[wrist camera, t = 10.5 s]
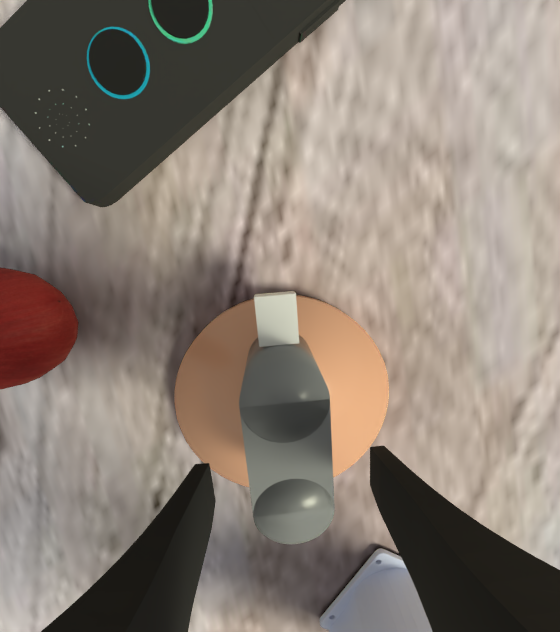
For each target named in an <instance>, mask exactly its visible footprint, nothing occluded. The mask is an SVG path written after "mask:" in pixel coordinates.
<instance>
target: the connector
mask: <svg viewBox="0 0 560 632" xmlns="http://www.w3.org/2000/svg"><path fill="white" fill-rule="evenodd" d="M254 302H255V311H256V321H257V331H258V337H257V338H256V339H255V341H254V342H253V343H252V345H251V347H250V349H249V353H248V357H247V362H246V367H245V372H244V377H243V382H242V387H241V392H240V397H239V409H240V417H241V425H242V432H243V440H244V448H245V456H246V463H247V471H248V479H249V487H250V494H251V502H252V510H253V517H254V522H255V524H256V526H257V528H258V530H259V531H260V532H261V533H262V534H263V535H264V536H266V537H267V538H269V539H270V540H272V541H275V542H278V543H282V544H300V543H304V542H308V541H310V540H313V539H315V538H316V537H318V536H319V535H321V534H322V533H323V532H324V531H325V530H326V529H327V528H328V526H329V525H330V523H331V521H332V519H333V516H334V486H333V461H332V436H331V411H330V394H329V390H328V387H327V385H326V383H325V380H324V378H323V376H322V374H321V372H320V370H319V367H318V365H317V363H316V361H315V359H314V357H313V354H312V352H311V350H310V348H309V346H308V344H307V342H306V341H305V340H304V339H303V338H302V337H301V336H300V335H299V332H298V317H297V302H296V293H295V292H294V291H287V292H275V293H264V294H255V296H254Z"/></svg>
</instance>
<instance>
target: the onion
mask: <svg viewBox="0 0 560 632" xmlns="http://www.w3.org/2000/svg"><path fill="white" fill-rule="evenodd" d="M77 333H78V320H77V318H76V315H75V312H74V310H73V307H72V305H71V304H70V303H69V301H68V300H67V299H66V297H65V296H64V295H63V294H62V292H60V291H59V290H58V289H56V288H55V287H53V286H52V285H50V284H49V283H48V282H46V281H44V280H43V279H41V278H40V277H38V276H36V275H35V274H30V273H26V272H21V271H17V270H12V269H6V268H0V389H4V388H9V387H13V386H17V385H21V384H25V383H28V382H30V381H33V380H35V379H37V378H40V377H41V376H43V375H44V374H46V373H47V372H49V371H50V370H52V369H53V368H55V367H56V366H57V365H59V364H60V363H61V362H63V361H64V360H65V359H66V357H67V356H68V354H69V352H70V350H71V349H72V347H73V345H74V343H75V341H76V339H77Z"/></svg>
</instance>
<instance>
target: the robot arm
mask: <svg viewBox="0 0 560 632" xmlns="http://www.w3.org/2000/svg"><path fill="white" fill-rule="evenodd" d="M370 486H371V489H372V492H373V495H374V497H375V500H376V503H377V506H378V508H379V511H380V513H381V515H382V518H383V520H384V522H385V524H386V526H387V528H388V530H389V532H390V535H391V537H392V539H393V541H394V543H395V545H396V547H397V549H398V551H399V553H400V555H401V556H398V555H396V554H394V553H391V552H389V551H387V550H385V549H382V548H380V549H377V550H376V551H375V552H374V553H373V554H372V556H371V557H370V558H369V559H368V560H367V562H366V563H365V564H364V565H363V566H362V568H361V569H360V570H359V571H358V573H357V574H356V575H355V576H354V577H353V579H352V580H351V581H350V582H349V583H348V585H347V586H346V587H345V588H344V589H343V591H342V592H341V593H340V594H339V595H338V597H337V598H336V599H335V600H334V602H333V603H332V604H331V605H330V606H329V608H328V609H327V610H326V611H325V612H324V614H323V615H322V616H321V617H320V626H321V627H322V628H324V629H327V630H329V632H560V570H558V569H556V568H555V567H553V566H551V565H549V564H547V563H545V562H544V561H542V560H540V559H538V558H536V557H534V556H533V555H531V554H529V553H527V552H526V551H524V550H522V549H520V548H519V547H517V546H515V545H514V544H512V543H510V542H509V541H507V540H506V539H504V538H502V537H501V536H499V535H497V534H496V533H494V532H493V531H491V530H489V529H488V528H486V527H485V526H483V525H482V524H480V523H479V522H477V521H476V520H474V519H473V518H471V517H470V516H469V515H467V514H466V513H464V512H463V511H461V510H460V509H459V508H457V507H456V506H454V505H453V504H452V503H450V502H449V501H448V500H447V499H445V498H444V497H443V496H441V495H440V494H439V493H438V492H436V491H435V490H434V489H433V488H431V487H430V486H429V485H428V484H426V483H425V482H424V481H423V480H422V479H421V478H419V477H418V476H417V475H416V474H415V473H414V472H412V471H411V470H410V469H409V468H408V467H407V466H406V465H405V464H403V463H402V462H401V461H400V460H399V459H398V458H397V457H396V456H395V455H393V454H392V453H391V452H390V451H389V450H388V449H387V448H386V447H385V446H376V447H370ZM214 508H215V495H214V489H213V483H212V477H211V471H210V464H209V463H204V464H195V465H194V467H193V468H192V469H191V471H190V472H189V474H188V475H187V476H186V478H185V479H184V481H183V482H182V483H181V485H180V486H179V488H178V489H177V490H176V492H175V493H174V494H173V496H172V497H171V498H170V500H169V501H168V502H167V504H166V505H165V506H164V508H163V509H162V510H161V511H160V513H159V514H158V515H157V516H156V518H155V519H154V520H153V521H152V522H151V524H150V525H149V526H148V527H147V529H146V530H145V531H144V532H143V533H142V535H141V536H140V537H139V538H138V539H137V540H136V541H135V543H134V544H133V545H132V546H131V547H130V548H129V549H128V550H127V551H126V552H125V553H124V555H123V556H122V557H121V558H120V559H119V560H118V561H117V562H116V563H115V564H114V565H113V566H112V567H111V568H110V569H109V570H108V571H107V572H106V573H105V574H104V575H103V576H102V577H101V578H100V579H99V580H98V581H97V582H96V583H95V584H94V585H93V586H92V587H91V588H90V589H89V590H88V591H87V592H85V593H84V594H83V595H82V596H81V597H80V598H79V599H78V600H77V601H76V602H74V603H73V604H72V605H71V606H70V607H69V608H68V609H67V610H66V611H64V612H63V613H62V614H61V615H60V616H59V617H57V618H56V619H55V620H54V621H53V622H52V623H51V624H49V625H48V626H47V627H46V628H45V629H43V630H42V631H41V632H188V628H189V622H190V616H191V611H192V607H193V602H194V598H195V594H196V590H197V586H198V581H199V577H200V573H201V569H202V565H203V561H204V557H205V553H206V549H207V545H208V541H209V537H210V533H211V528H212V522H213V515H214Z"/></svg>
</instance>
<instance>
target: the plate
mask: <svg viewBox="0 0 560 632" xmlns="http://www.w3.org/2000/svg"><path fill="white" fill-rule="evenodd" d="M296 302H297V317H298V332H299V335H300V336H301V337H302V338H303V339H304V340H305V341H306V342H307V344H308V346H309V348H310V350H311V352H312V354H313V357H314V359H315V361H316V363H317V365H318V367H319V370H320V372H321V374H322V376H323V378H324V380H325V383H326V385H327V387H328V390H329V394H330V411H331V436H332V461H333V477H335V476H337V475H339V474H340V473H342V472H344V471H345V470H346V469H348V468H349V467H350V466H352V465H353V464H354V463H355V462H356V461H357V460H358V459H359V458H361V457H362V456H363V454H364V453H365V452H366V451H367V450H368V448H369V447H370V446H371V444H372V443H373V441H374V440H375V438H376V437H377V435H378V433H379V431H380V429H381V427H382V424H383V421H384V418H385V415H386V411H387V406H388V398H389V384H388V375H387V371H386V367H385V364H384V361H383V359H382V356H381V354H380V351H379V350H378V348H377V346H376V345H375V343H374V341H373V340H372V339H371V337H370V336H369V335H368V334H367V332H366V331H365V330H364V329H363V328H362V327H361V326H360V325H359V324H358V323H356V322H355V321H354V320H353V319H352V318H350V317H349V316H347V315H346V314H345V313H343V312H342V311H340V310H339V309H337V308H335V307H333V306H332V305H330V304H328V303H326V302H323V301H320V300H317V299H314V298H311V297H306V296H301V295H296ZM257 337H258V331H257V321H256V311H255V302H254V298H253V299H250V300H247V301H244V302H241V303H239V304H237V305H235V306H233V307H231V308H229V309H227V310H226V311H224V312H223V313H221V314H220V315H218V316H217V317H216V318H215V319H214V320H213V321H211V322H210V323H209V324H208V325H207V326H206V327H205V328H204V329H203V331H202V332H201V333H200V334H199V335H198V336H197V337H196V339H195V340H194V341H193V342H192V344H191V346H190V347H189V349H188V350H187V352H186V353H185V356H184V358H183V360H182V362H181V364H180V367H179V371H178V374H177V378H176V384H175V410H176V416H177V420H178V423H179V426H180V429H181V431H182V433H183V435H184V437H185V439H186V441H187V443H188V444H189V446H190V447H191V449H192V450H193V452H194V453H195V454H196V455H197V456H198V457H199V458H200V460H201V461H202V462H204V463H209V464H210V469H212V470H213V471H215V472H216V473H218V474H219V475H221V476H223V477H224V478H226V479H228V480H230V481H232V482H235V483H238V484H240V485H243V486H246V487H249V479H248V471H247V463H246V456H245V448H244V440H243V432H242V425H241V417H240V409H239V397H240V392H241V387H242V382H243V377H244V372H245V367H246V362H247V357H248V353H249V349H250V347H251V345H252V343H253V342H254V341H255V339H256V338H257Z"/></svg>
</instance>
